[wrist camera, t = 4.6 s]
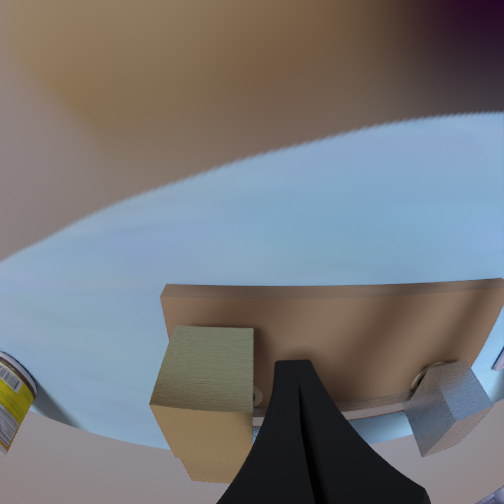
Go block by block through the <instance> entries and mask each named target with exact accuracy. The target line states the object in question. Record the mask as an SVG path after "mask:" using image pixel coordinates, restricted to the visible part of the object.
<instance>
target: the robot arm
mask: <svg viewBox="0 0 504 504" xmlns="http://www.w3.org/2000/svg"><path fill="white" fill-rule="evenodd" d="M503 368H504V350H503V352H502V354H501V356H500V357H499V359H498V360H497V362H496V364H495V365H494V369H495V371H498V370H500V369H503ZM216 504H431V502H430V499H429V496H428V494H427V492H426V490H425V488H423V487H422V486H420V485H418V484H416V483H415V482H413V481H412V480H410V479H409V478H407V477H406V476H405V475H403V474H402V473H400V472H399V471H398V470H396V469H395V468H394V467H392V466H391V465H390V464H389V463H388V462H387V461H385V460H384V459H383V458H382V457H381V456H380V455H379V454H377V453H376V452H375V451H374V450H373V449H372V448H371V447H370V446H369V445H368V444H367V443H366V442H365V441H364V440H363V439H362V437H361V436H360V435H359V434H358V433H357V432H356V431H355V429H354V428H353V427H352V426H351V425H350V423H349V422H348V421H347V419H346V418H345V417H344V415H343V414H342V413H341V411H340V410H339V409H338V407H337V406H336V404H335V403H334V401H333V400H332V398H331V397H330V395H329V393H328V392H327V390H326V389H325V387H324V385H323V383H322V382H321V380H320V378H319V376H318V374H317V372H316V370H315V368H314V366H313V364H312V362H311V361H310V360H309V359H307V360H278V361H276V362H275V365H274V377H273V387H272V394H271V398H270V401H269V405H268V408H267V411H266V414H265V417H264V420H263V423H262V425H261V428H260V430H259V433H258V435H257V437H256V440H255V442H254V444H253V446H252V448H251V450H250V452H249V454H248V456H247V458H246V460H245V461H244V463H243V465H242V467H241V468H240V470H239V472H238V473H237V475H236V476H235V478H234V480H233V481H232V483H231V484H230V486H229V487H228V489H227V490H226V492H225V493H224V494H223V496H222V497H221V498H220V499H219V501H218V502H217V503H216ZM476 504H504V486H502V487H501V488H499V489H498V490H497V491H495V492H494V493H492V494H491V495H489V496H487V497H486V498H484V499H483V500H481V501H479V502H478V503H476Z"/></svg>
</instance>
